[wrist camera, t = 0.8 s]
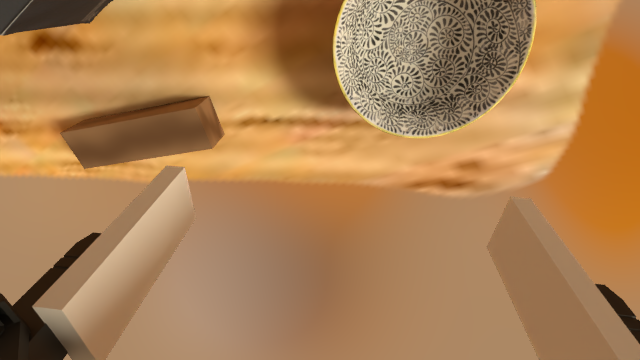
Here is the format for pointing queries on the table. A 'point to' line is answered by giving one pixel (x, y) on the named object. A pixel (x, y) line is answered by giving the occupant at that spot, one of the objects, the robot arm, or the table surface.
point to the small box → (46, 13)
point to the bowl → (429, 60)
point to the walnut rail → (145, 133)
